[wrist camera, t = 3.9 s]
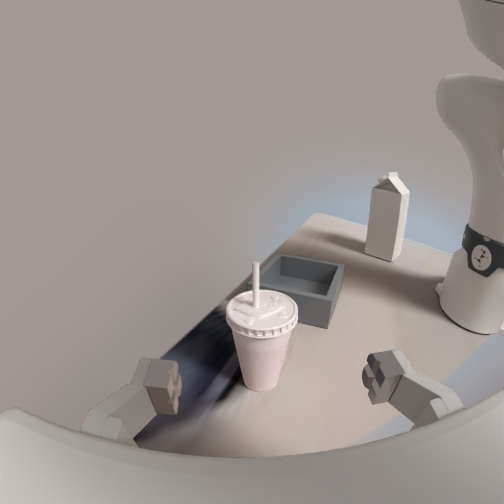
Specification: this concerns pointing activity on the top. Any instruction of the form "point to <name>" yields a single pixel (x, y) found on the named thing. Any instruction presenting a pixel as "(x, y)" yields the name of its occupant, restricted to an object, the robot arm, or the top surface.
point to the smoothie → (261, 332)
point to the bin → (304, 285)
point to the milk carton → (387, 218)
